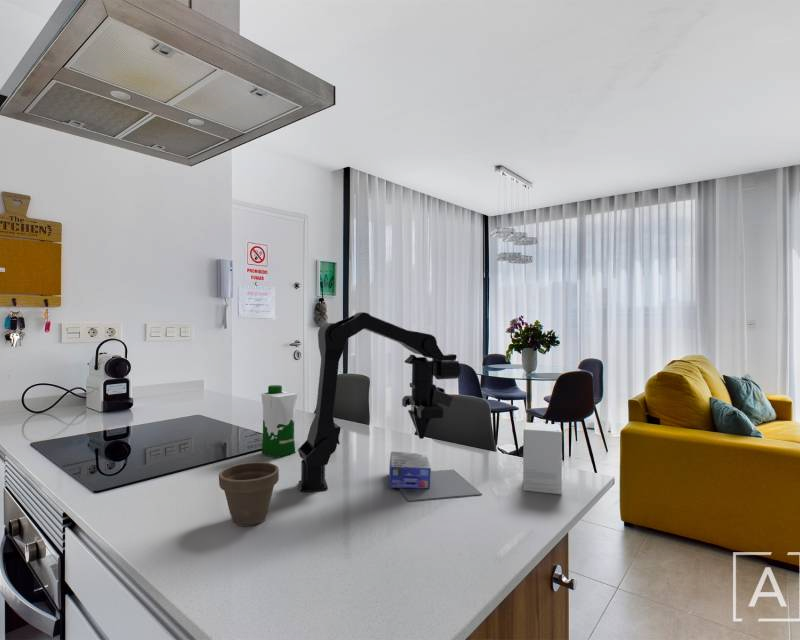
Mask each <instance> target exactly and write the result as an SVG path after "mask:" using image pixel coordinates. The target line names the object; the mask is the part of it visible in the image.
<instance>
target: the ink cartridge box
mask: <svg viewBox="0 0 800 640" xmlns="http://www.w3.org/2000/svg"><path fill="white" fill-rule="evenodd" d="M388 469H389V470H388V472H389V487H390V488H392V489H394V488H395V489H399V488H417V489H429V488H430V475H431V471H432V468H431V464H430V461H429V457H428V454H427V452H409V451H408V452H406V451H391V452H390V459H389V468H388Z"/></svg>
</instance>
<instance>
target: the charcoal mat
mask: <svg viewBox="0 0 800 640" xmlns="http://www.w3.org/2000/svg"><path fill="white" fill-rule="evenodd" d="M398 490H399V491H400V493H401V494H402V495H403V497H404V498H405V500H406V501H407V502H409V503H410V502H419V501H420V502H421V501H430V500H431V501H432V500H440V499H443V500H444V499H454V498H464V497H465V498H466V497H475V496H477V497H478V496H483V493H482V492H480V490H478V489H477V488H476V487H475V486H474V485H473V484H471V483H470V482H469V481H468V480H466V478H465V477H463V476H462V475H461V474H460V473H458V472H457V470H455V469H444V470H443V469H441V470H431V475H430V488H429V489H417V488H398Z"/></svg>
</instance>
